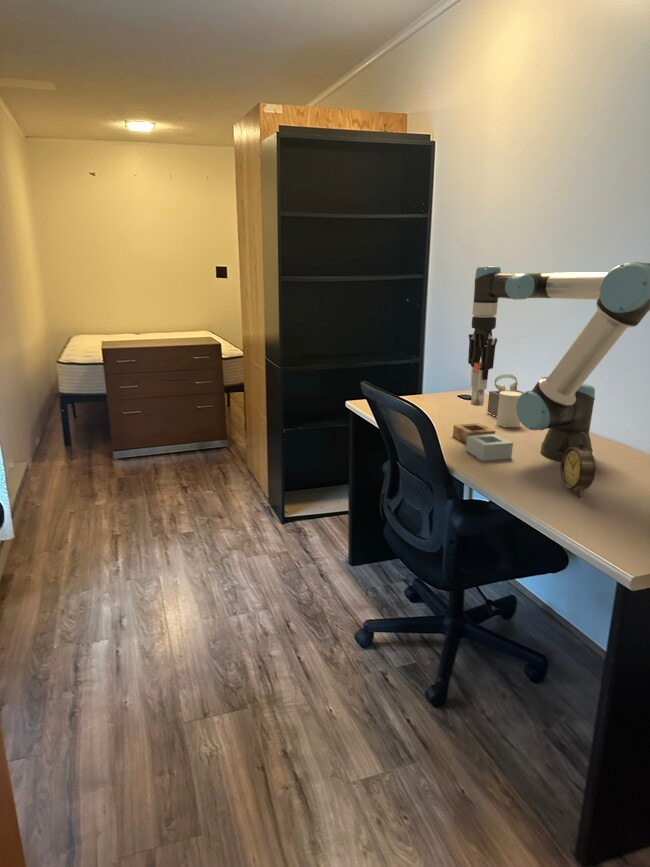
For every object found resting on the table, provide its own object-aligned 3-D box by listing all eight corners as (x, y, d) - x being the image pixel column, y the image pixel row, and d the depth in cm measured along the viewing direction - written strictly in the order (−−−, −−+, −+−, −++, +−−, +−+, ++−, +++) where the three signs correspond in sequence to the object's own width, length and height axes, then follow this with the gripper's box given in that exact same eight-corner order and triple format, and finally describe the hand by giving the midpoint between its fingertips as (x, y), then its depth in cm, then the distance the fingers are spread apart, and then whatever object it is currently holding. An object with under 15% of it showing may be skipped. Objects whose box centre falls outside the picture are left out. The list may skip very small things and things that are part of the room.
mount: (494, 442, 198) (495, 430, 197) (467, 444, 195) (468, 432, 194) (478, 434, 207) (479, 423, 206) (452, 436, 204) (453, 424, 203)
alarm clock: (556, 484, 162) (564, 426, 157) (575, 483, 162) (584, 426, 157) (575, 499, 151) (583, 439, 147) (595, 499, 151) (605, 438, 147)
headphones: (502, 410, 236) (492, 381, 221) (501, 402, 238) (492, 373, 223) (523, 407, 233) (515, 378, 217) (523, 399, 235) (515, 369, 219)
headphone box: (526, 416, 231) (529, 394, 228) (498, 418, 228) (501, 395, 225) (514, 411, 239) (516, 389, 236) (487, 413, 235) (489, 391, 233)
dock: (511, 458, 182) (513, 442, 181) (482, 461, 179) (484, 445, 178) (493, 448, 191) (495, 433, 190) (465, 451, 188) (467, 436, 187)
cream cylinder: (520, 428, 215) (524, 396, 211) (497, 427, 216) (501, 395, 212) (517, 422, 222) (521, 391, 219) (495, 421, 223) (498, 390, 220)
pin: (485, 405, 196) (489, 363, 192) (474, 406, 195) (478, 363, 191) (479, 402, 200) (482, 361, 196) (468, 403, 199) (471, 362, 195)
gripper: (509, 318, 182) (502, 392, 189) (480, 313, 198) (475, 382, 205) (488, 318, 180) (482, 393, 187) (460, 314, 196) (455, 383, 202)
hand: (478, 387), depth 196 cm, fingers closed on pin, 4 cm apart
